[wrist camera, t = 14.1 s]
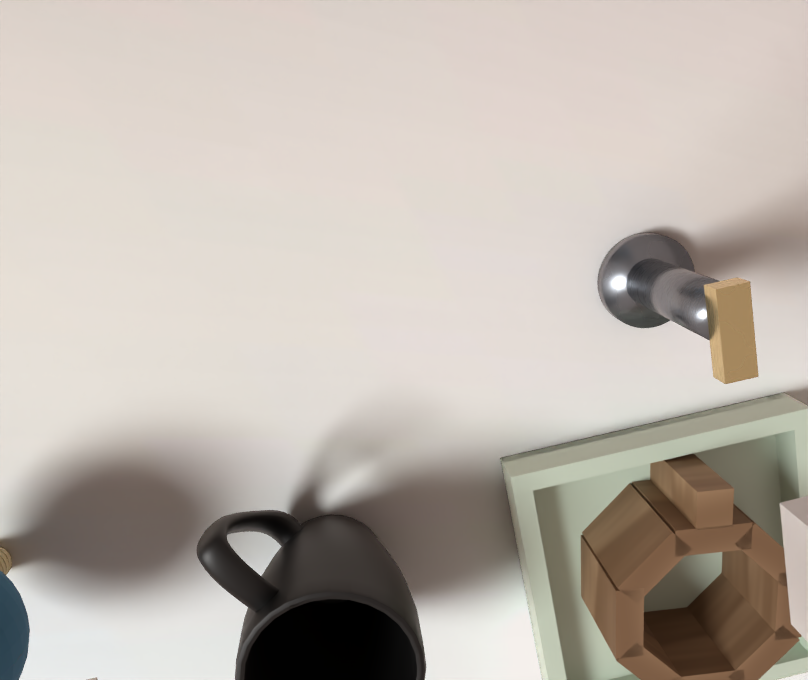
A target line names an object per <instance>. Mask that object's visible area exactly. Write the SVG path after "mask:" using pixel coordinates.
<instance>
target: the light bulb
mask: <svg viewBox="0 0 808 680" xmlns="http://www.w3.org/2000/svg"><path fill="white" fill-rule="evenodd" d="M11 565H12V561H11V556H10V554H9V553H8V552H7V551H6V550H5V549H4V548H1V547H0V680H19V678H20V675H21V673H22V670H23V667H24V664H25V661H26V658H27V653H28V644H29V632H30V629H29V622H28V615H27V612H26V609H25V606H24V603H23V601H22V598H21V596H20V593H19V592H18V590H17V589H16V587H15V586H14V584H13V583H12V581H11V580H10V579H9V578H8V577H7V576H6V574H7V573H8V572H9V570H10V569H11Z"/></svg>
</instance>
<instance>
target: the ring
mask: <svg viewBox="0 0 808 680" xmlns="http://www.w3.org/2000/svg"><path fill="white" fill-rule="evenodd" d="M733 502H734V488H733V487H732V486H731V485H730V484H729V483H727V482H726V481H725V480H724V479H723V478H722V477H720V476H719V475H718V474H717V473H716V472H715V471H713V470H712V469H711V468H710V467H709V466H708V465H706V464H705V463H704V462H703V461H702V460H700V459H699V458H698V457H697V456H696V455H695V454H688V455H684V456H680V457H675V458H671V459H667V460H663V461H658V462H654V463H650V480H645V481H635V482H632V485H631V484H630V483H629V484H628V485H627V486H626V487H625V488H624V489H623V490H622V491H621V492H620V493H619V494H618V495H617V497H616V498H615V499H614V500H613V501H612V502H611V503H610V504H609V505H608V506H607V507H606V508H605V509H604V510H603V511H602V512H601V513H600V514H599V515H598V516H597V517H596V518H595V519H594V520H593V521H592V522H591V523H590V524H589V525H588V527H587V528H586V529H585V530H584V531H583V532H582V534H583V535H581V597H582V599H583V601H584V602H585V604H586V606H587V608H588V610H589V612H590V613H591V615H592V617H593V619H594V621H595V622H596V624H597V626H598V628H599V630H600V632H601V633H602V635H603V637H604V639H605V641H606V643H607V644H608V646H609V648H610V650H611V652H612V653H613V655H614V657H615V659H616V661H617V662H618V663H620V664H621V665H622V666H624V667H625V668H626V669H627V670H629V671H630V672H631V673H633V674H634V675H635V676H636V677H638V678H639V679H640V680H759V679H760V678H761V677H762V676H763V675H764V674H765V673H766V672H767V671H768V670H769V669H770V668H771V667H772V666H773V665H774V664H775V663H776V662H778V661H779V660H780V659H781V658H782V657H783V656H784V655H785V654H786V653H787V652H788V651H789V650H790V649H791V648H792V647H793V646H794V645H795V644H796V643H797V642H798V641H799V637H801V634H800V633H799V632H798V631H797V630H796V629H795V628H794V627H793V626H792V625H791V618H790V608H789V597H788V587H787V576H786V565H785V555H784V548H783V547H782V546H781V545H780V544H779V543H777V542H776V541H775V540H774V539H773V538H772V537H771V536H770V535H768V534H767V533H766V532H765V531H764V530H763V529H762V528H761V527H760V526H758V525H757V524H756V523H755V522H754V521H753V520H752V519H751V518H749V517H748V516H747V515H746V514H745V513H744V512H743V511H742V510H740V509H739V508H738V507H737V506H736V505H735V504H734V503H733ZM717 552H722V573H721V574H720V575H719V576H718V577H717V578H716V579H715V580H714V581H713V582H712V583H711V584H710V585H709V586H708V587H707V588H706V589H705V590H704V591H703V592H702V593H701V594H700V595H699V596H698V597H697V598H696V599H695V600H694V601H693V602H692V603H691V604H690V605H689V606H688V607H684V608H676V609H667V610H658V611H649V612H644V596H645V595H646V594H647V593H648V592H649V591H650V590H651V589H652V588H653V587H654V586H655V585H656V584H657V583H658V582H659V581H660V580H661V579H662V578H663V577H664V576H665V575H666V574H667V573H668V572H669V571H670V570H671V569H672V568H673V567H674V566H675V565H676V564H677V563H678V562H679V561H680V560H681V559H682V558H683V557H684V556H689V555H698V554H708V553H717Z"/></svg>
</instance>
